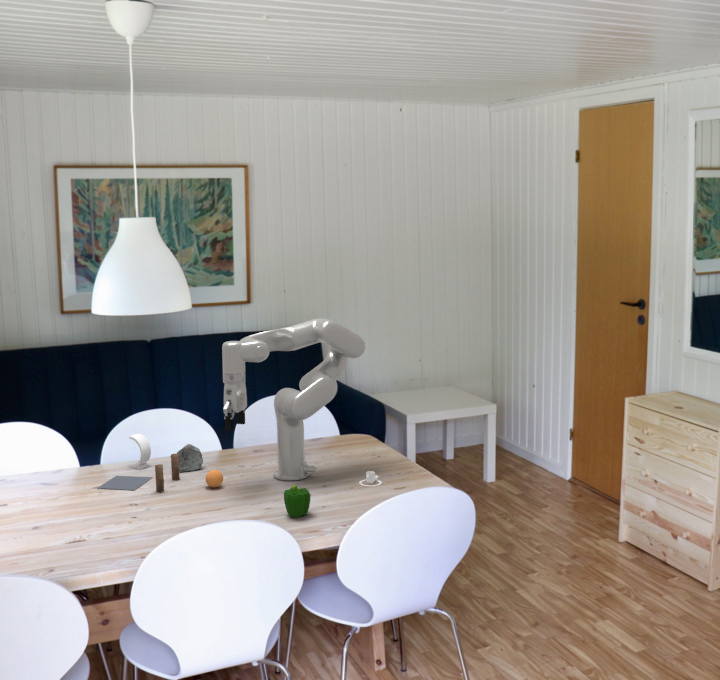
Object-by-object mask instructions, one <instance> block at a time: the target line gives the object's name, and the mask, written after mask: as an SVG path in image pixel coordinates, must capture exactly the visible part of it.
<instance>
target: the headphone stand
mask: <svg viewBox="0 0 720 680" xmlns="http://www.w3.org/2000/svg"><path fill="white" fill-rule="evenodd" d="M128 439H130V440H132V441H134V442H135V443H136V444H137V446H138V449H139V451H140V457H139V460H138V462H137V463H133V464H131V465H130V468H133V469H138V470H143V469H146V468H147V467H150V463H148V462H149V460H150V458H151V454H152V447H151V445H150V442H149V440H148V439H147V438H146V436H144V435H143V434H141V433H135V434H131V435H129V436H128Z"/></svg>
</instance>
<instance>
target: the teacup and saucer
mask: <svg viewBox="0 0 720 680" xmlns="http://www.w3.org/2000/svg"><path fill="white" fill-rule="evenodd" d="M365 476H366V477H365V479H362V480H359V482H358V484H359V485H360V486H364V487H377V486H380V485H382V484H383V481H381V480H380V479H379V475H377V474H376V472H375V471H373V470H371V471H370V470H369V471H368V470H367V471H366V472H365ZM365 481H366V482H367V484H370V485H367V484H363V482H365ZM375 481H376V482H378V483H376V484H374V483H375ZM372 484H373V485H372Z"/></svg>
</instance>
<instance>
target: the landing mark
mask: <svg viewBox="0 0 720 680" xmlns="http://www.w3.org/2000/svg"><path fill="white" fill-rule="evenodd" d="M153 478H154V477H151V476H130V475H128V476H127V475H115V476H113V477H112V478H111V479H108V481H105V482H104V483H103V484H102V485H100V486H98V487H96V489H97V490H117V491H118V490H119V491H136V490H138V489H139V488H140V487H142V486H143V485H144V484H146V483H147V482H149V481H150V480H152V479H153Z"/></svg>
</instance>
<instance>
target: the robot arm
mask: <svg viewBox="0 0 720 680" xmlns="http://www.w3.org/2000/svg"><path fill="white" fill-rule="evenodd" d="M318 343H322V344H327V345H328V352H327V355H326V357H325V359H323V361H321V362H320V363H319V364H318V365H317V366H314V368H313V369H311V370H310V371H309V372H307V373H306V374H305V375H303V376H302V377H301V379H300V380H299V384H298V386H299V390H298V389H295V388H291V387H284V388H282V389H280V390H278V391H277V392H276V394H275V396H274V399H273V408H274V415H275V419H276V420H275V421H276V437H277V438H276V440H277V441H276V442H277V467H278V469H277V470H275V471H274V472H273V477H274V478H275V479H277V480H279V481H280V480H281V481H298V480H303V479H306V478H308V477H309V476H310V473H317V466H315V465H309V464H308V461H307V460H305V457H306V456H305V452H306V451H305V424H304V420H307V419H309V418H310V417H312V416H313V415H315V414H316V413H318V412H319V411H320V410H322V409H323V408H324V407H325V406H326V405H327V404H329V403H330V402H331V401H332V400H333V399H334V398H335V397H336V395H337V393H338V383H337V380H339V379H341V377H342V376H343V374H345V371H346V368H347V363H348V359H358V358H360V357H362V355H364V352H365V350H366V342H365V340H364V339H363V338H362V337H361V336H360V335H359V334H358V333H355V332H354V331H352V330H350V329H348V328H347V327H346V326H344V325H342V324H341V323H339V322H337V321H335V320H332V319H328V318H323V317H322V318H321V317H318V318H313V319H309V320H307V321H302V322H300V323H297V324H294V325H293V324H292V325H290V326H287V327H281V328H277V329H272V330H271V329H270V330H266V331H262V332H261V331H260V332H258V333H254V334H250V335H248V336H245V337H243V338H241V339H240V340H229V341H225V342H223V344H222V347H221V349H222V350H221V351H222V352H221V354H222V355H221V356H222V382H223V384H224V386H223V409H222V411H223V416H224V417H223V419H224V431H226V432H235V423H236V425H245V424H246V408H247V407H248V396H247V386H246V385H247V384H246V362H247V363H261V362H263V361H265V360H267V358H268V357H269V355H270V353H271V352H277V351H278V352H279V351H280V352H291V351H297V350H300V349H303V348H307V347H309V346H312V345H315V344H318ZM234 416H235V418H234Z"/></svg>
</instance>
